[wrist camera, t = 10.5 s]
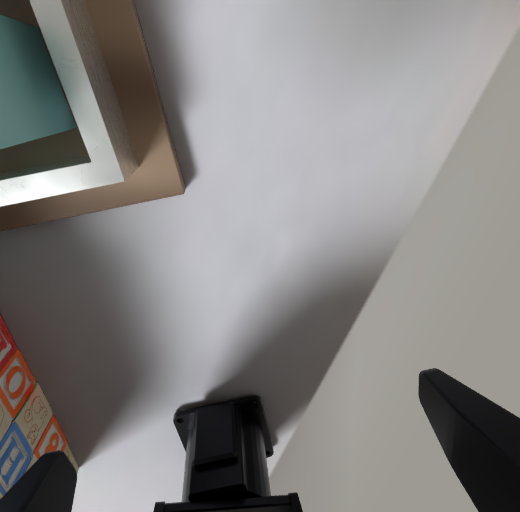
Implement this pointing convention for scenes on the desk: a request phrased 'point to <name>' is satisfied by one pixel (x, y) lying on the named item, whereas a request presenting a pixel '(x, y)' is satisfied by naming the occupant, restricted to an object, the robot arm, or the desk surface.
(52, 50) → the frame
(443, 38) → the desk surface
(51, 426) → the stack of blocks
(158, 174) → the base board
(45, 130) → the teal block
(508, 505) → the robot arm
